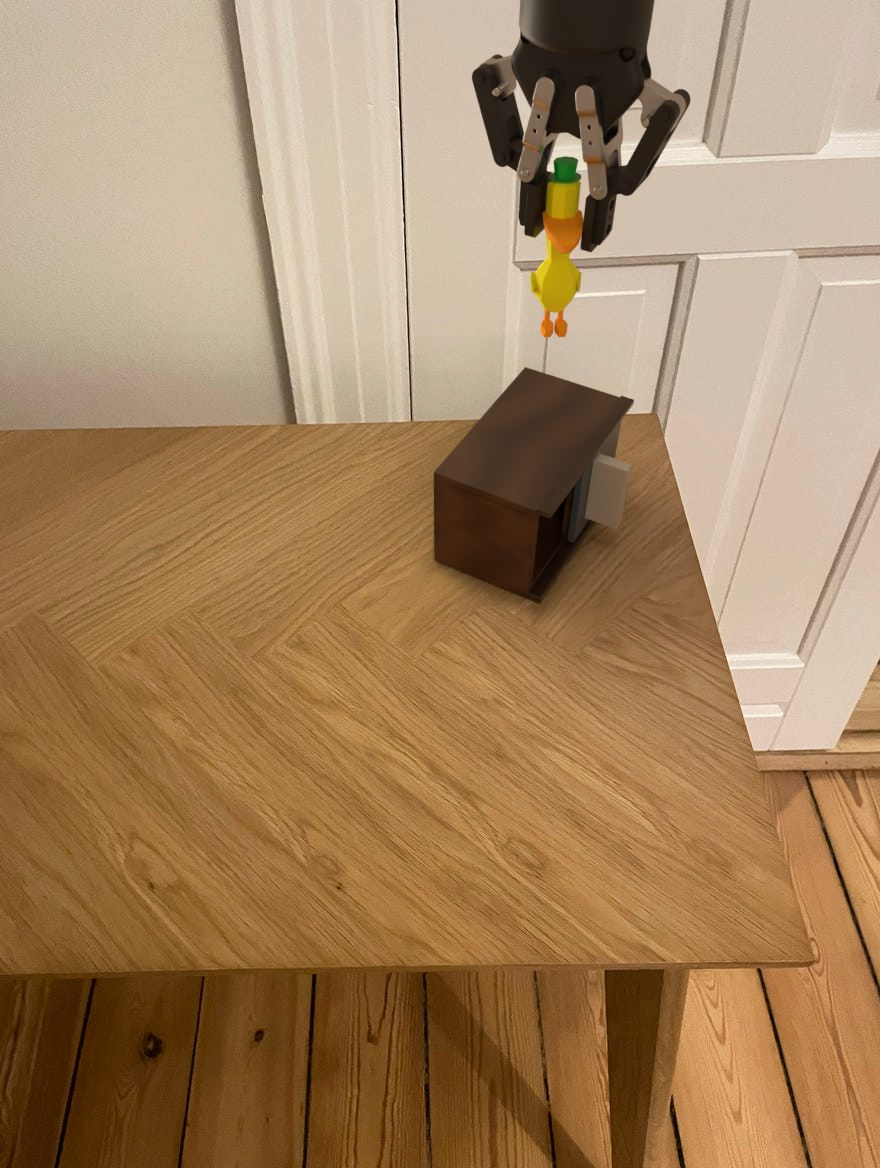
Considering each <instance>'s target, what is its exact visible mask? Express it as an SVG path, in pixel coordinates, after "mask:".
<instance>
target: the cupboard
mask: <svg viewBox="0 0 880 1168" xmlns="http://www.w3.org/2000/svg"><path fill="white" fill-rule="evenodd" d="M634 403H635V399H633V398H630V397H627V396H624V395H620V396H617V395H614V394H612V393H608V392H606V391H601V390H599V389H596V388H592V387H589V386H586V385H583V384H580V383H577V382H574V381H571V380H567V379H565V378H562V377H558V376H554V375H552V374H548V373H545V372H542V371H539V370H536V369H532V368H530V367H527V366H525V367H523V369H522V370H521V372H519V373H518V374H517V375H516V377H515V378H514V379H513V380H512V381H511V383H509V385H508V386H507V387H506V388H505V390H504V391H502V393H501V394H500V395H499V396H498V397H497V399H496V400H495V401H494V402H493V403H492V404H491V406H489V408H488V409H487V410H486V411H485V412H484V414H483V415H482V416H481V417H480V418H479V419H478V420H477V422H476V423H475V424H474V425H473V426H472V427H471V428H470V430H469V431H467V433H465V435H464V437H463V438H462V439H461V440H460V441H459V442H458V444H457V445H456V446H455V447H454V448H453V449H452V450H451V452H450V453H449V454H448V455H447V456H446V457H445V459H444V460H443V461H442V462H441V463H440V464H439V465H438V466H437V468H436V469H435V470H434V471H433V557H434V558H433V559H434V561H435V562H438V563H439V564H443V565H445V566H448V567H450V568H452V569H454V570H458V571H459V572H461V573H465V574H467V575H469V576H472V577H474V578H476V579H479V580H481V581H484V582H486V583H489V584H491V585H494V586H496V587H498V588H501V589H504V590H505V591H508V592H510V593H513V594H516V595H518V596H520V597H522V598H525V599H528V600H530V601H531V602H534V603H537V604H541V603H542V602H543V600H544V598H545V597H546V596H547V594H548V593H549V592H550V590H551V588H552V587H553V586H554V584H555V582H556V581H557V580H558V578H560V575H561V574H562V572H563V571H564V570H565V568H566V567H567V566H568V564H569V562H570V561H571V560H572V558H573V556H574V555H575V553H576V552H577V551H578V549H579V548H580V546H581V544H582V543H583V542H584V540H585V539H586V538H587V536H588V535H589V533H590V531H591V530H592V529H593V527H594V526H595V524H596V523H597V522H595V521H592V520H589V521H588V522H587V524H586V525H585V527H584V528H583V530H582V531H581V533H580V534H579V535H578V537H577V538H576V540H575V541H574V543H572V542H569V541H567V538H568V531H569V524H570V517H571V510H572V503H573V495H574V488H575V484H576V482H577V481H578V480H579V478H580V477H581V475H582V474H583V473H584V471H585V470H586V469H587V467H588V466H589V464H590V463H591V462H592V460H593V459H594V458H595V456H596V455H597V453H598V452H599V451H600V449H601V448H602V447H603V445H604V444H605V442H606V441H607V440H608V438H609V437H610V436H611V434H612V433H613V432H614V430H615V429H616V427H617V426H618V425H619V423H620V422H621V423H622V421H623V419H624V418H625V417H626V415H627V414H628V412H629V411H630V409H632V407H633V406H634Z"/></svg>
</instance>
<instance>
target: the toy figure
mask: <svg viewBox="0 0 880 1168" xmlns="http://www.w3.org/2000/svg"><path fill="white" fill-rule="evenodd" d="M552 163H553V170H554V171H553V172H552V174H550V175H549V180H550V181H549V183H548V185H547V199H546V210H545V211H544V212H543V213H542V214H543V223H544V231H545V239H546V240H545V242H546V258H544V260H543V261H542V262H541V263H540V264H539V266H538V268H537V269H536V271H530V272H529V286H530V291H531V293H532V295H534V296H535V298H536V299H537V300H538V302H539V303H540V305H541V307H542V308H543V309H544V312H543V319H542V321H541V323H540V334H541V335H542V337H543V338H552V335H553V334H555V335H556V336H557V337H558V338H565V337H566V336H567V333H568V323H567V321H566V320H565V319H564V312H565V311H564V310H565V309H566V308H567V307H568V305H569V304H570V303H571V302H572V301H573V299H574V298H575V296H576V294H577V293H579V292H580V290H581V285H582V284H581V282H582V272H581V271H580V270H579V269H577V267H576V265H575V264H574V262H573V261H572V259H571V258H570V254H571V253H572V252H573V251H574V250H575V249H576V248H577V246H578V245H579V243H580V242H581V237H582V228H583V220H584V214H583V211H582V210H580V209H579V207H580V195H581V185H582V182H581V180H582V174H580V173H579V172H577V168H578V164H579V159H577V157H574V156H567V155H563V156H560V157H555V159H554V160H553V162H552ZM551 313H555V314H556V313H557V316H556V317H557V318H555V319H554V322H553V321H552V319H551V318H550V317H551Z"/></svg>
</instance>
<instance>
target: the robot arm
mask: <svg viewBox="0 0 880 1168" xmlns="http://www.w3.org/2000/svg"><path fill="white" fill-rule="evenodd" d="M654 8H655V0H519V13H518V14H519V15H518V27H519V32H520V34H519V40H518V42H517V44H516V46H515V48H514V50H513V51H512V54H510V55H507V56H503V55H501V54H498V53H497V54H494V55H492V56H491V57H489V58H487V59H486V60H485V61H484V62H482V63H481V64H479V66H478V67H476V68H475V69H474V70H473V71H472V73H471V81H472V85H473V89H474V93H475V96H476V100H477V104H478V107H479V110H480V111H479V112H480V114H481V118H482V122H483V125H484V129H485V132H486V136H487V140H488V143H489V147H490V151H491V154H492V155H491V156H492V158H493V161H494V164H496V165H497V167H500V168H506V167H509V168H510V169H511V170H513V171H515V172H516V174H517V177H518V178H519V182H520V185H519V199H518V200H519V201H518V213H517V215H518V216H517V218H518V221H519V224H520V225H519V226H522V227H524V229H523V233H524V236H527V237H530V238H535V239H536V238H537V237H538V236H539V235H540V234H541V233H542V232H543V231H545V228H544V223H543V214H542V213H543V212H544V211H545V210H546V199H547V185H548V183H549V181H550V180H549V175H550V174H552V173H553V172H552V171H549V170H548V166H549V164H550V162H551V160H552V155H553V152H554V149H555V145H556V142H557V140H558V137H559V135H560V134H569V135H571V136H573V137H575V138H576V139H578V140H580V144H581V145H580V146H581V155H582V160H583V162H584V163H585V164H586V170H587V181H588V191H589V194H588V195H587V196H586V197H585V203H584V211H583V228H582V235H581V239H580V245H579V246H580V251H585V252H588V253H593V251H595V249H596V248H597V247H598V246H601V245H602V244H603V242H605V241H606V240H607V238H608V237H609V236H610V235H611V232H612V231H613V225H614V219H615V212H616V204H617V197H618V195H622V196H625V197H629V196H632V195H633V194H634V193H635V192H636V191H637V190H638V188H639V187H640V186H641V185H642V184H643V183H644V182H645V181H646V180H647V179H648V178H649V176H650V175H651V173H652V171H653V169H654V168H655V166H656V164H657V162H658V161H659V159H660V157H661V155H662V154H663V152H664V150H665V149H666V147H667V145H668V143H669V142H670V140H671V138H672V136H673V134H674V133H675V131H676V129H677V128H678V126H679V124H680V122H681V120H682V119H683V117H684V115H685V114H686V112H687V110H688V108H689V106H690V105H691V95H690V93H689V92H688V91H687V90H686V89H684V88H678V89H675V90H674V91H673V92H672V91H671V90H669V89H668V88H666V87H664V86H663V85H662V84H661V83H659V82H657V81H656V80H654V79H653V78H652V67H651V64H650V61H649V57H648V56H649V55H648V43H649V38H650V33H651V29H652V28H651V26H652V21H653V14H654ZM517 84H518V85H519V87H520V89H521V92H522V94H523V96H524V98H525V100H526V102H527V104H528V106H529V108H530V112H529V115H528V119H527V123H526V127H525V130H524V127H523V123H522V120H521V115H520V111H519V108H518V103H517V99H516V95H515V90H516V88H517ZM637 100H639V102H640V103H641V106H642V109H641V114H640V124H641V126H642V128H645V131H644V132H643V134H642V136H641V138H640V140H639V141H638V143H637V145H636V147H635V149H634V151H633V152H632V155H631V157H630V158H629V160H628V162H627V163H626V164H624V165H622V163H623V162H622V151H621V150H622V143H623V141H624V127H623V116H624V115H625V114H626V112H627V111H628V110H629V109H630V108H631V107H632V106H633V104H635V102H637Z"/></svg>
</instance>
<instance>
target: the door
mask: <svg viewBox="0 0 880 1168" xmlns="http://www.w3.org/2000/svg"><path fill="white" fill-rule="evenodd" d="M621 426H622V421H621V422H620V423H619V425H618V426H617V427H616V429H615V430H614V432H613V433H612V434H611V436H610V437H609V438H608V440H607V441H606V442H605V444H604V445H603V447H602V448H601V449H600V451H599V452H598V453H597V455H596V456H595V458H594V459H593V460H592V462H591V463H590V464H589V466H588V467H587V469H586V470H585V471H584V473H583V474H582V475H581V477H580V478H579V480H578V481H577V482H576V484H575V488H574V495H573V503H572V510H571V517H570V524H569V531H568V538H567V541H569V542H572V543H574V541H575V540H576V538H577V537H578V535H579V534H580V533H581V531H582V530H583V528H584V527H585V525H586V524H587V522H588V521H589V520H592V521H595V522H596V523H597V524H600V525H603V526H605V527H608V528H611V529H614V530H618V528H619V527H620V525H621V523H622V520H623V514H624V510H625V504H626V500H627V494H628V489H629V484H630V479H631V474H632V468H633V464H632V463H630V462H627V461H623V460H622V459H621V460H620V459H617V458H616V454H617V449H618V444H619V438H620V433H621V432H620V431H621Z"/></svg>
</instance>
